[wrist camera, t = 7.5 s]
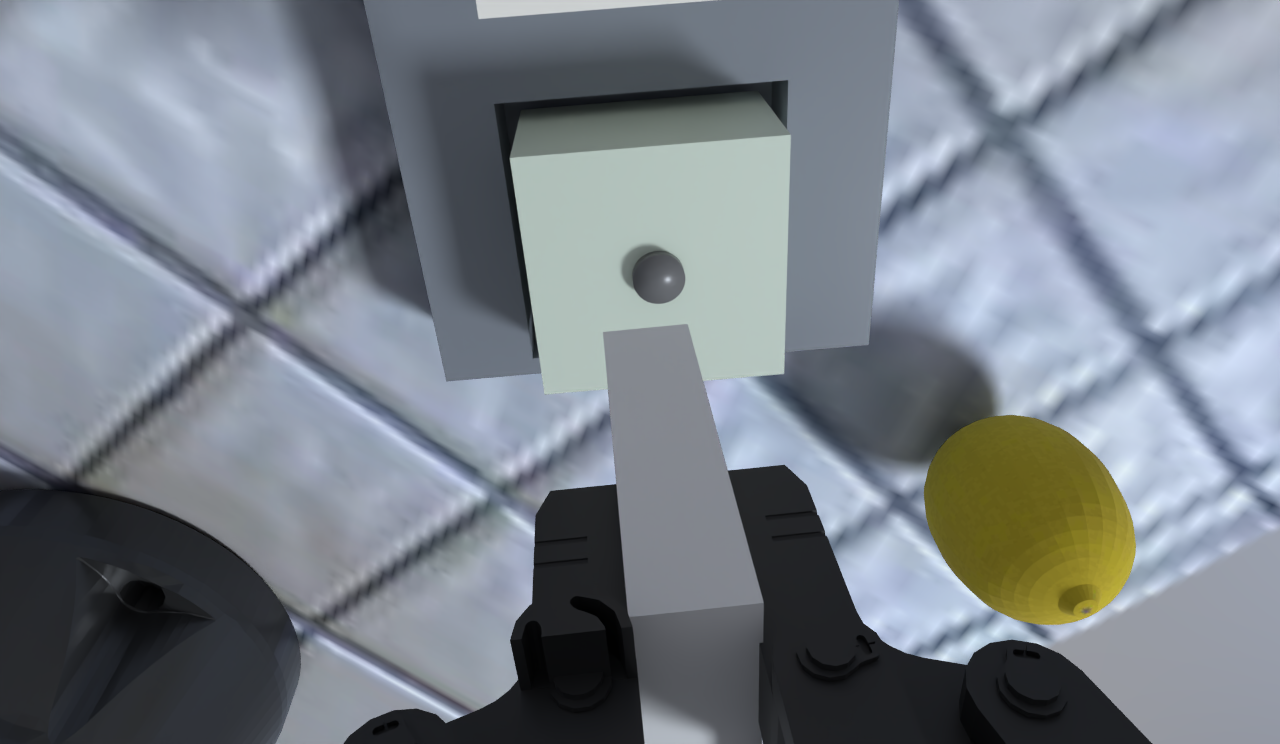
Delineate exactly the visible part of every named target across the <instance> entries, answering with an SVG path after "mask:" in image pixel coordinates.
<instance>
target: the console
mask: <svg viewBox="0 0 1280 744" xmlns="http://www.w3.org/2000/svg"><path fill="white" fill-rule="evenodd" d="M363 1H364V6H365V10H366V15H367V20H368V24H369V29H370V33H371V38H372V42H373V47H374V52H375V56H376V61H377V65H378V70H379V74H380V79H381V84H382V88H383V93H384V97H385V102H386V107H387V111H388V116H389V120H390V125H391V129H392V134H393V139H394V143H395V148H396V152H397V157H398V161H399V166H400V171H401V175H402V180H403V184H404V189H405V194H406V198H407V203H408V207H409V212H410V216H411V221H412V226H413V230H414V235H415V239H416V244H417V248H418V253H419V258H420V262H421V267H422V271H423V276H424V281H425V285H426V290H427V294H428V299H429V303H430V308H431V313H432V317H433V322H434V326H435V331H436V336H437V340H438V345H439V349H440V354H441V358H442V363H443V368H444V372H445V377H446V381H456V380H468V379H480V378H491V377H503V376H514V375H526V374H538V373H541V366H540V359H539V352H538V346H537V339H536V332H535V325H534V319H533V312H532V305H531V298H530V292H529V285H528V278H527V271H526V265H525V258H524V251H523V244H522V238H521V231H520V224H519V217H518V211H517V204H516V197H515V190H514V183H513V177H512V170H511V163H510V155H511V150H512V146H513V142H514V138H515V134H516V130H517V125H518V121H519V117H520V113H521V110H524V109H536V108H549V107H561V106H573V105H586V104H598V103H610V102H623V101H635V100H647V99H660V98H672V97H684V96H697V95H709V94H721V93H734V92H746V91H758V92H759V93H760V94H761V96H762V97H763V98H764V100H765V101H766V102H767V104H768V105H769V106H770V108H771V109H772V110H773V112H774V113H775V114H776V116H777V117H778V118H779V120H780V121H781V122H782V124H783V125H784V126H785V128H786V129H787V130H788V132H789V133H790V134H791V148H790V183H789V219H788V254H787V289H786V324H785V352H793V351H805V350H816V349H828V348H840V347H851V346H863V345H869V336H870V325H871V313H872V302H873V291H874V279H875V268H876V257H877V245H878V234H879V223H880V211H881V200H882V188H883V177H884V166H885V154H886V143H887V132H888V120H889V109H890V98H891V86H892V75H893V64H894V52H895V41H896V29H897V18H898V7H899V0H713V1H701V2H688V3H675V4H663V5H650V6H638V7H625V8H612V9H600V10H587V11H575V12H562V13H549V14H537V15H524V16H511V17H499V18H486V19H479V18H478V12H477V5H476V0H363Z"/></svg>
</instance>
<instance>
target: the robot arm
mask: <svg viewBox="0 0 1280 744" xmlns="http://www.w3.org/2000/svg"><path fill="white" fill-rule="evenodd" d="M603 339H604V350H605V362H606V373H607V384H608V395H609V407H610V418H611V429H612V440H613V452H614V463H615V474H616V484H614V485H604V486H595V487H585V488H575V489H565V490H555V491H550V493H549V494H548V496H547V498H546V499H545V501H544V502H543V504H542V506H541V507H540V509H539V511H538V512H537V514H536V519H535V547H534V570H533V596H532V604H531V605H529V607H528V608H527V609H526V610H525V611H524V613H523V614H522V615H521V616H520V617H519V618H518V620H517V621H516V623H515V626H514V629H513V632H512V636H511V639H510V642H511V647H512V652H513V656H514V661H515V666H516V670H517V675H518V681H517V682H516V683H515V684H514V685H513V687H512V688H511V689H510V690H509V691H508V692H506V693H505V694H504V695H503V696H501V697H500V698H499V699H498V700H496V701H495V702H493V703H491V704H489V705H487V706H485V707H483V708H481V709H480V710H477V711H475V712H472V713H470V714H467V715H465V716H463V717H460V718H458V719H455V720H453V721H450V722H448V723H445V722H444V721H443V720H442V719H441V718H440V717H439V716H437V715H436V714H433V713H429V712H426V711H423V710H419V709H406V710H393V711H391V712H388V713H386V714H383V715H381V716H378V717H376V718H373V719H371V720H369V721H368V722H367V723H365V724H364V725H363V726H361V727H360V728H359V729H358V730H356V731H355V732H354V733H352V734H351V735H350V736H349V737H348V738H347V740H346V741H345V743H344V744H762V740H763V744H1152V743H1151V742H1150V741H1149V740H1148V739H1147V738H1146V737H1145V736H1144V735H1143V734H1142V733H1141V732H1140V731H1139V730H1138V729H1137V728H1136V726H1134V724H1133V723H1132V722H1131V721H1130V720H1129V719H1128V718H1127V717H1126V716H1125V715H1124V714H1123V713H1122V712H1121V711H1120V710H1119V709H1118V708H1117V707H1116V706H1115V705H1114V704H1113V703H1112V702H1111V700H1110V699H1109V698H1108V697H1107V696H1106V695H1105V694H1104V693H1103V692H1102V691H1101V690H1100V689H1099V688H1098V687H1097V686H1096V685H1095V684H1094V683H1093V682H1092V681H1091V680H1090V679H1089V678H1088V677H1087V676H1086V675H1085V674H1084V672H1083V671H1082V670H1080V669H1079V668H1078V667H1077V666H1075V665H1074V664H1073V663H1071V662H1070V661H1069V660H1068V659H1066V658H1065V657H1064V656H1062V655H1061V654H1059V653H1057V652H1055V651H1052V650H1050V649H1048V648H1046V647H1043V646H1041V645H1039V644H1036V643H1029V642H1023V641H1017V640H1007V641H1000V642H993V643H989V644H988V645H986V646H984V647H983V648H981V649H979V650H978V651H976V652H974V654H973V656H972V657H971V659H970V661H969V663H968V665H964V664H957V663H951V662H945V661H939V660H933V659H927V658H922V657H918V656H915V655H911V654H907V653H904V652H902V651H900V650H898V649H895V648H893V647H891V646H889V645H887V644H886V643H885V642H883V641H882V640H881V639H880V638H879V636H878V635H877V633H876V632H874V631H873V630H872V629H870V628H869V627H868V626H866V625H865V624H863V622H862V620H861V618H860V617H859V615H858V613H857V611H856V609H855V606H854V604H853V601H852V599H851V596H850V594H849V591H848V589H847V586H846V584H845V581H844V579H843V576H842V573H841V571H840V568H839V566H838V563H837V561H836V558H835V556H834V553H833V551H832V548H831V545H830V543H829V540H828V538H827V536H825V530H824V528H823V525H822V523H821V520H820V518H819V515H817V510H816V507H815V505H814V502H813V500H812V497H811V495H810V492H809V490H808V487H807V485H806V484H805V483H804V482H803V481H802V480H800V479H799V478H798V477H797V476H796V475H795V474H794V473H793V472H792V471H791V470H790V469H788V468H787V467H786V466H785V465H779V466H769V467H760V468H750V469H740V470H730V471H728V470H727V466H726V463H725V459H724V455H723V452H722V448H721V444H720V441H719V437H718V433H717V430H716V426H715V422H714V419H713V415H712V411H711V408H710V404H709V400H708V397H707V393H706V389H705V386H704V382H703V378H702V375H701V371H700V368H699V364H698V360H697V357H696V353H695V349H694V346H693V342H692V338H691V335H690V331H689V327H688V324H681V325H671V326H660V327H650V328H639V329H629V330H618V331H608V332H603ZM300 668H301V656H300V648H299V643H298V639H297V635H296V632H295V629H294V627H293V624H292V622H291V620H290V618H289V616H288V614H287V612H286V610H285V609H284V607H283V605H282V604H281V602H280V601H279V600H278V598H277V597H276V595H275V594H274V593H273V592H272V590H271V589H270V588H269V587H268V585H267V584H266V583H265V582H264V581H263V580H262V579H261V578H260V577H259V576H258V575H257V574H256V573H255V572H254V571H253V570H252V569H251V568H250V567H248V566H247V565H246V564H245V563H244V562H242V561H241V560H240V559H239V558H238V557H236V556H235V555H234V554H232V553H231V552H229V551H228V550H227V549H225V548H224V547H222V546H221V545H219V544H218V543H216V542H215V541H213V540H211V539H210V538H208V537H206V536H204V535H203V534H201V533H199V532H197V531H196V530H194V529H192V528H190V527H188V526H186V525H183V524H181V523H179V522H177V521H175V520H172V519H170V518H168V517H166V516H163V515H160V514H158V513H155V512H152V511H150V510H147V509H144V508H141V507H138V506H135V505H131V504H128V503H124V502H120V501H117V500H113V499H108V498H104V497H99V496H94V495H88V494H82V493H76V492H66V491H57V490H5V491H0V744H275V743H276V741H277V739H278V737H279V735H280V733H281V731H282V728H283V725H284V722H285V719H286V716H287V714H288V711H289V708H290V705H291V702H292V699H293V696H294V693H295V690H296V688H297V685H298V680H299V676H300Z"/></svg>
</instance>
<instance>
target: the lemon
mask: <svg viewBox="0 0 1280 744" xmlns="http://www.w3.org/2000/svg"><path fill="white" fill-rule="evenodd" d="M924 500H925V510H926V518H927V522H928V526H929V529H930V531H931V534H932V536H933V538H934V540H935V542H936V544H937V546H938V548H939V550H940V552H941V554H942V556H943V558H944V560H945V561H946V563H947V564H948V566H949V567H950V568H951V570H952V571H953V572H954V574H955V575H956V576H957V577H958V578H959V579H960V580H961V581H962V582H963V583H964V584H965V585H966V587H968V588H969V589H970V590H971V591H972V592H973V593H974V594H975V595H976V596H977V597H978V598H979V599H980V600H982V601H983V602H984V603H985V604H987V605H988V606H989V607H991V608H992V609H994V610H996V611H998V612H1000V613H1002V614H1005V615H1007V616H1009V617H1011V618H1013V619H1015V620H1020V621H1024V622H1029V623H1034V624H1043V625H1060V624H1065V623H1071V622H1075V621H1078V620H1081V619H1084V618H1087V617H1089V616H1091V615H1093V614H1095V613H1097V612H1098V611H1100V610H1101V609H1102V608H1104V607H1105V606H1106V605H1108V604H1109V603H1110V602H1111V601H1112V600H1113V599H1114V598H1115V597H1116V596H1117V595H1118V594H1119V592H1120V591H1121V589H1122V588H1123V586H1124V584H1125V583H1126V581H1127V579H1128V577H1129V575H1130V572H1131V569H1132V566H1133V562H1134V558H1135V550H1136V543H1135V534H1134V527H1133V521H1132V518H1131V515H1130V512H1129V509H1128V507H1127V504H1126V502H1125V500H1124V498H1123V496H1122V494H1121V492H1120V490H1119V489H1118V487H1117V485H1116V483H1115V481H1114V480H1113V478H1112V476H1111V475H1110V473H1109V471H1108V470H1107V469H1106V467H1105V466H1104V465H1103V463H1102V462H1101V461H1100V460H1099V459H1098V458H1097V457H1096V455H1094V454H1093V453H1092V452H1091V451H1090V450H1089V449H1088V448H1087V447H1085V446H1084V445H1083V444H1082V443H1081V442H1080V441H1078V440H1077V439H1076V438H1075V437H1073V436H1072V435H1071V434H1069V433H1068V432H1066V431H1064V430H1063V429H1061V428H1059V427H1056V426H1054V425H1052V424H1049V423H1047V422H1044V421H1042V420H1039V419H1036V418H1031V417H1024V416H1016V415H1005V416H994V417H988V418H985V419H982V420H978V421H975V422H973V423H971V424H969V425H967V426H965V427H963V428H961V429H960V430H959V431H957V432H956V433H955V434H953V435H952V436H951V437H949V438H948V439H947V440H946V442H945V443H944V444H943V445H942V446H941V447H940V448H939V450H938V451H937V453H936V455H935V457H934V459H933V461H932V462H931V464H930V466H929V469H928V473H927V478H926V482H925V486H924Z"/></svg>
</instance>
